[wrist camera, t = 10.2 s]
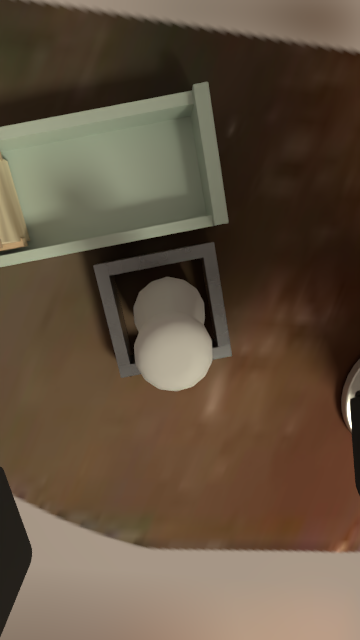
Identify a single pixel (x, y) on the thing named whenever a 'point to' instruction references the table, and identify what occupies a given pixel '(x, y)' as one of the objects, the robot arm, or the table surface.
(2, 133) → the bay
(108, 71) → the table surface
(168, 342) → the salt shaker
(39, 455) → the table surface
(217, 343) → the grey square frame
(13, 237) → the crate
